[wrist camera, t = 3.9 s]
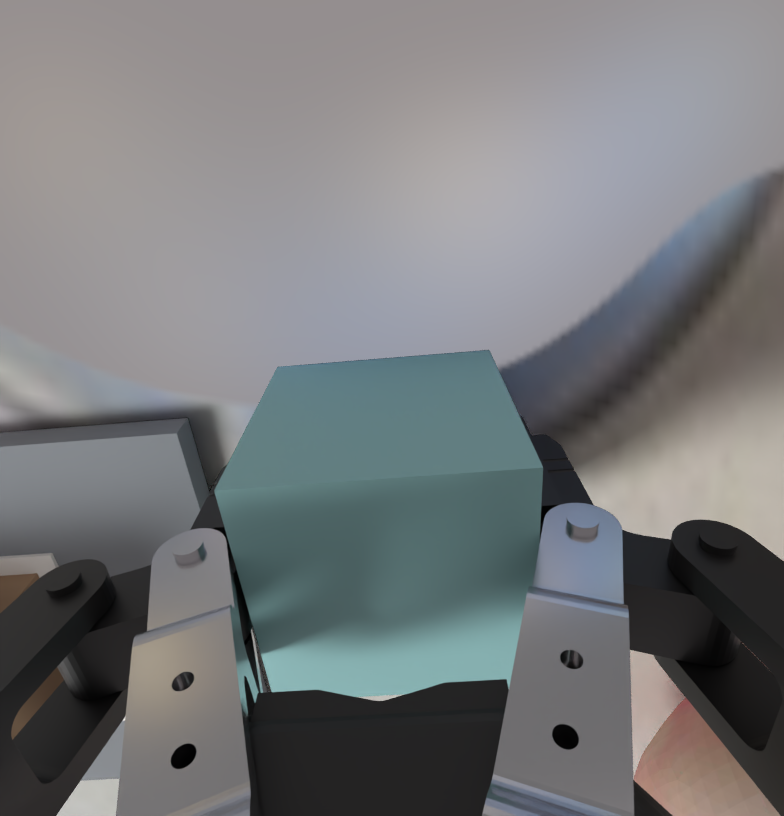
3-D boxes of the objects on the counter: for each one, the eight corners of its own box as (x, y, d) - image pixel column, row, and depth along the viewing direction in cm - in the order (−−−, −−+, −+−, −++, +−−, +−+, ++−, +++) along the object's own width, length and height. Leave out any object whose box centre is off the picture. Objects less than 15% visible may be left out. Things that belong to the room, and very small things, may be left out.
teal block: (489, 349, 12) (543, 467, 8) (490, 520, 15) (532, 687, 10) (277, 367, 13) (214, 490, 8) (309, 532, 15) (274, 701, 10)
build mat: (187, 417, 14) (174, 435, 13) (283, 747, 20) (279, 772, 19) (-331, 458, 14) (-374, 477, 13) (-78, 767, 20) (-97, 792, 20)
